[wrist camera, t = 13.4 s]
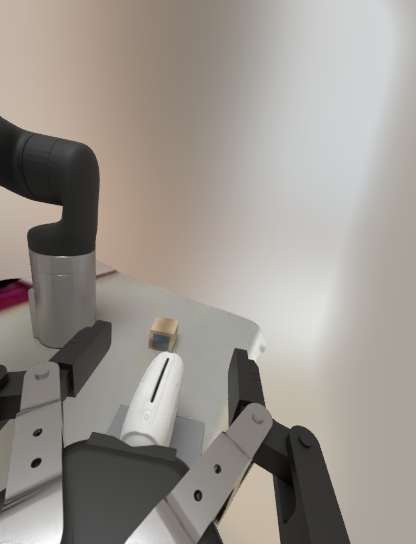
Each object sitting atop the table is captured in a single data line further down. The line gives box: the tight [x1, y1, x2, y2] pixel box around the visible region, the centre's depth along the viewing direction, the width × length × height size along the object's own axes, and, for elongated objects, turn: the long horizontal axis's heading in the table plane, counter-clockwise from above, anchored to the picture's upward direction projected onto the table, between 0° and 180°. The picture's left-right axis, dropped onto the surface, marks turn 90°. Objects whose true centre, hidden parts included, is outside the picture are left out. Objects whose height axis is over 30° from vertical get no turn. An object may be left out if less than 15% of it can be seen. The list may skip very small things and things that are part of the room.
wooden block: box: [149, 317, 179, 353], centre depth 43 cm, size 4×5×4 cm
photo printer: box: [120, 351, 184, 447], centre depth 24 cm, size 10×4×12 cm, turn 174°
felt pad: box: [106, 405, 204, 469], centre depth 26 cm, size 12×10×1 cm
